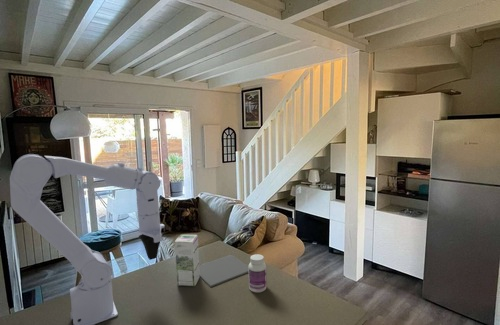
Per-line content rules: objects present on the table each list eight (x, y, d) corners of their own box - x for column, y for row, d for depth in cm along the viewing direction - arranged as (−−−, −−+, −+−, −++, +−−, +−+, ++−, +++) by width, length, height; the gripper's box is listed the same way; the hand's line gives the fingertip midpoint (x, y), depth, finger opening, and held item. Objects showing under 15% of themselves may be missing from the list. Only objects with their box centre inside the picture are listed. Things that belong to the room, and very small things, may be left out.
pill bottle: (269, 290, 79) (269, 259, 78) (252, 295, 77) (252, 262, 76) (262, 281, 84) (261, 251, 83) (246, 285, 82) (245, 254, 81)
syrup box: (200, 276, 88) (198, 233, 86) (194, 287, 82) (192, 241, 80) (183, 276, 88) (180, 233, 87) (176, 286, 82) (173, 240, 81)
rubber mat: (210, 287, 82) (210, 285, 82) (191, 268, 93) (191, 267, 93) (253, 270, 91) (253, 268, 91) (231, 255, 102) (231, 254, 102)
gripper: (171, 215, 74) (175, 262, 75) (154, 204, 85) (158, 245, 87) (144, 221, 70) (149, 271, 71) (131, 209, 81) (135, 252, 83)
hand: (152, 258), depth 79 cm, fingers closed
